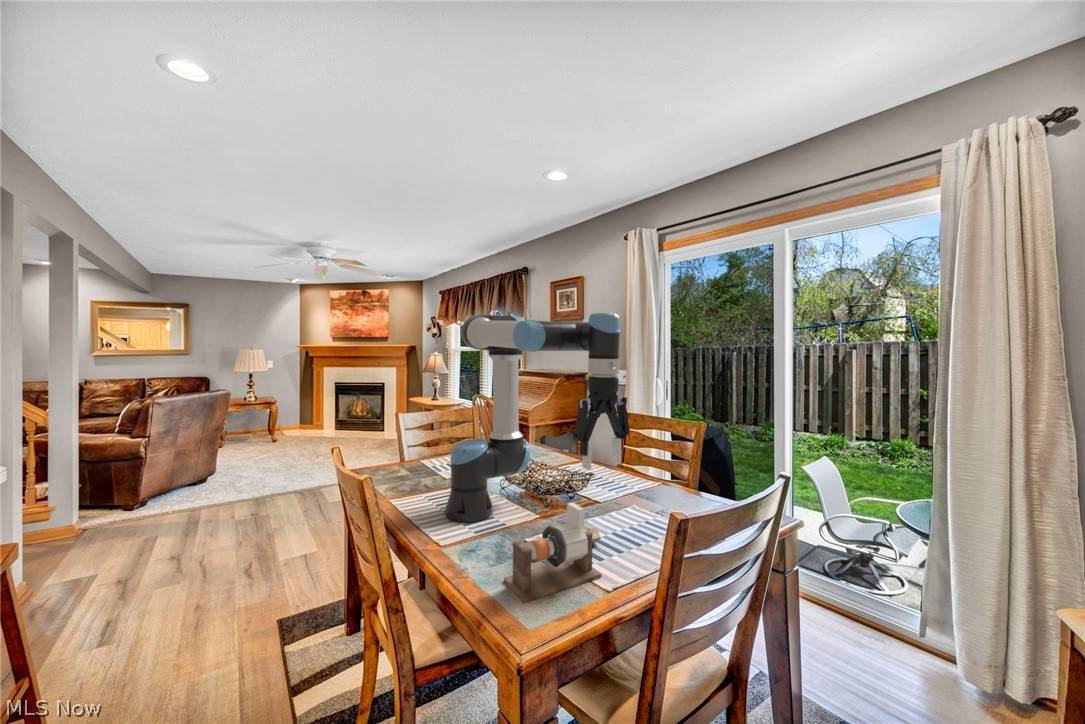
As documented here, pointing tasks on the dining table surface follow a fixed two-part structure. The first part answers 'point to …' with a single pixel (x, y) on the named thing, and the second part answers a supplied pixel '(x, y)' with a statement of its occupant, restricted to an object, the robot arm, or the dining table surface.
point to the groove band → (541, 549)
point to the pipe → (552, 546)
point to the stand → (548, 573)
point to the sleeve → (573, 534)
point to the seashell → (595, 533)
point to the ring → (559, 542)
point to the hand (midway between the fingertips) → (601, 465)
